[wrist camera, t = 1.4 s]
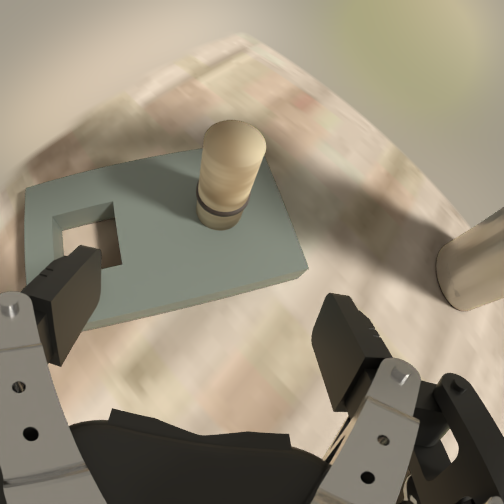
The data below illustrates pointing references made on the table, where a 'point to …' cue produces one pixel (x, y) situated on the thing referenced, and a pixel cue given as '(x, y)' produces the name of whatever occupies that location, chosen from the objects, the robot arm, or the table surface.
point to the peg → (227, 172)
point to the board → (163, 236)
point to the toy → (410, 492)
